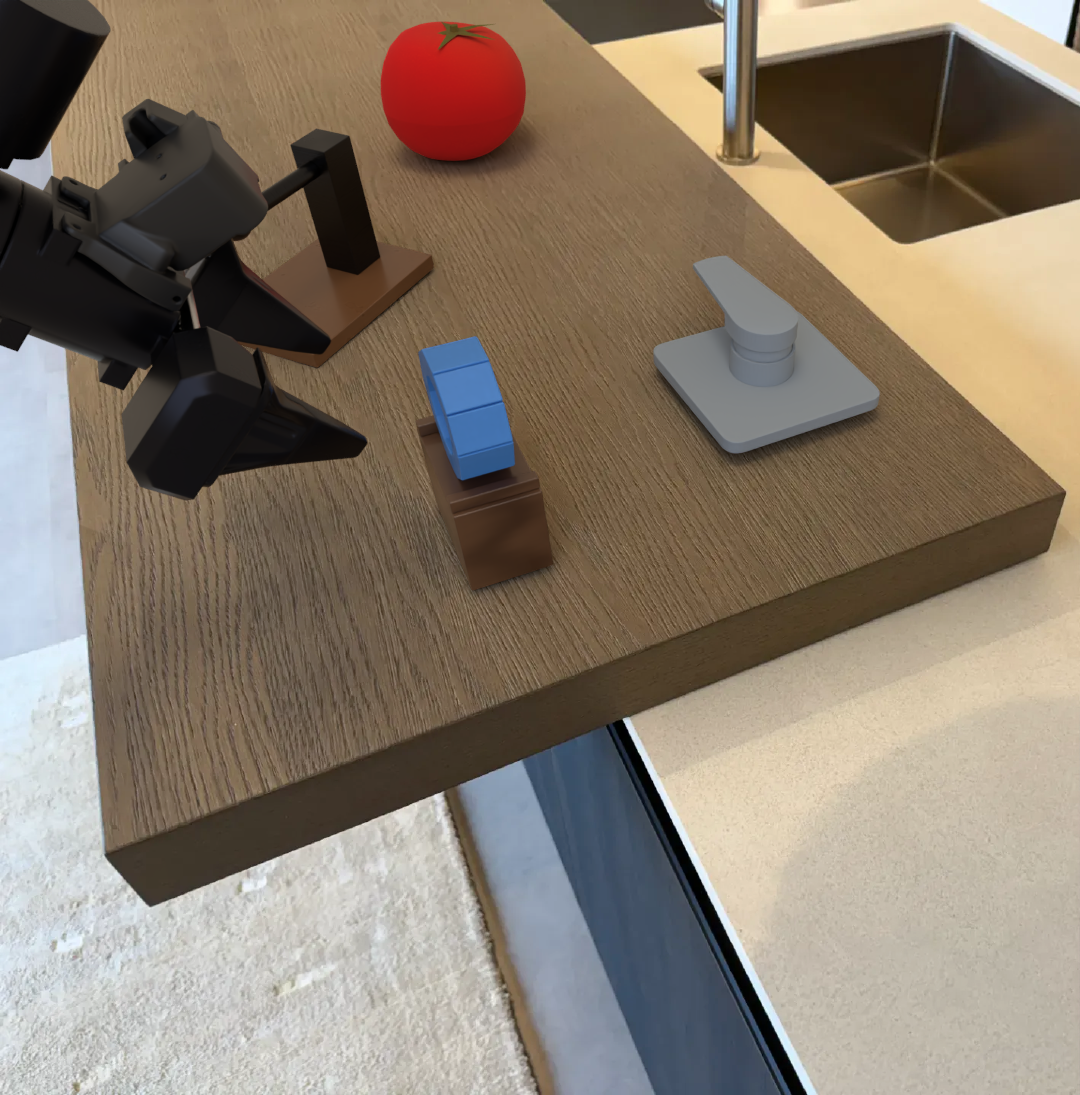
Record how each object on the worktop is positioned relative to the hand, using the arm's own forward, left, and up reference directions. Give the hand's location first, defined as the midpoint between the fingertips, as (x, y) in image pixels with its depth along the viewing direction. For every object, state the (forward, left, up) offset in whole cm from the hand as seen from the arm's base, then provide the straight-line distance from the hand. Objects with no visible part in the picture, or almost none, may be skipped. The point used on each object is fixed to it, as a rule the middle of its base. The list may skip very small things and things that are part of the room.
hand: (343, 394), depth 53 cm
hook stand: (+8, +29, -12) cm, 33 cm away
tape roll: (+6, -1, -6) cm, 9 cm away
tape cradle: (+6, -1, -12) cm, 14 cm away
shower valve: (+29, +2, -12) cm, 31 cm away
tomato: (+29, +47, -13) cm, 56 cm away
